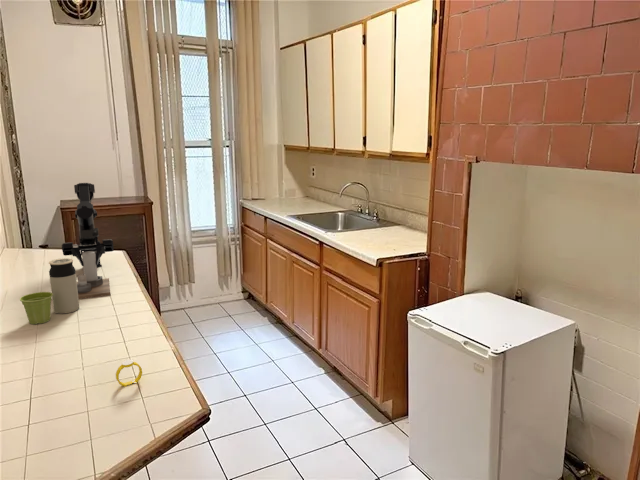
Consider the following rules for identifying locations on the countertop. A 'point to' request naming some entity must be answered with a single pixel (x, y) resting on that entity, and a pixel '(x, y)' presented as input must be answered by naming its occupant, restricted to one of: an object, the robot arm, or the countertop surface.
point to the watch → (128, 364)
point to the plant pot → (37, 306)
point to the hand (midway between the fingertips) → (89, 265)
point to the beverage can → (90, 265)
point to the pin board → (92, 287)
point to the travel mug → (63, 286)
